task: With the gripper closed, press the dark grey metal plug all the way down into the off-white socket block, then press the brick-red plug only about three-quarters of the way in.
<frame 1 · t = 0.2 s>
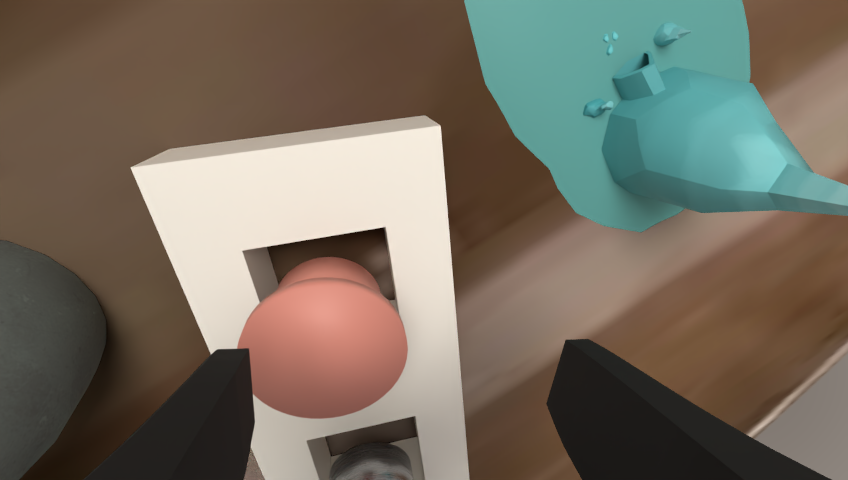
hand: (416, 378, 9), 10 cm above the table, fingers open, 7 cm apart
bottle: (1, 318, 17), on the table
socket block: (351, 347, 20), on the table
red plug: (327, 327, 14), point 5 cm above the table, slide at 0.0 cm
teal witch hat: (613, 60, 17), on the table
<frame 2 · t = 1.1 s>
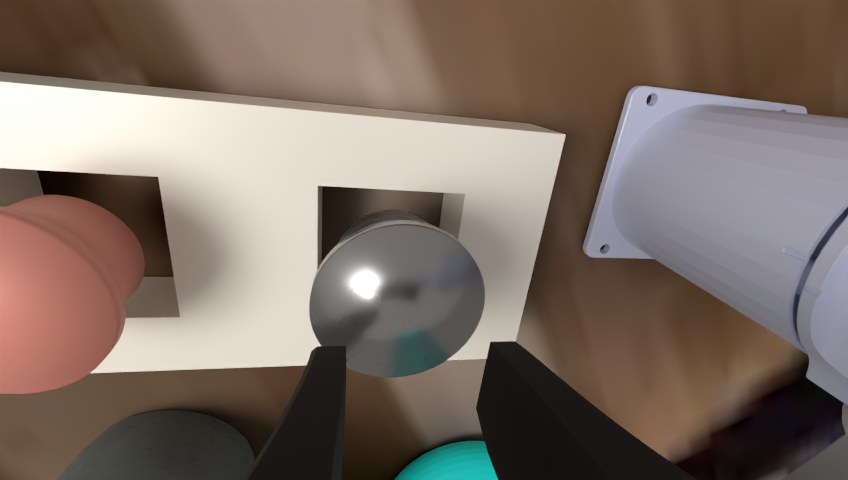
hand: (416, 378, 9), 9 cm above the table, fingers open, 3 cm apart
bottle: (177, 462, 21), on the table
grey plug: (394, 282, 13), point 5 cm above the table, slide at 0.0 cm
socket block: (262, 223, 16), on the table
red plug: (37, 280, 11), point 5 cm above the table, slide at 0.0 cm
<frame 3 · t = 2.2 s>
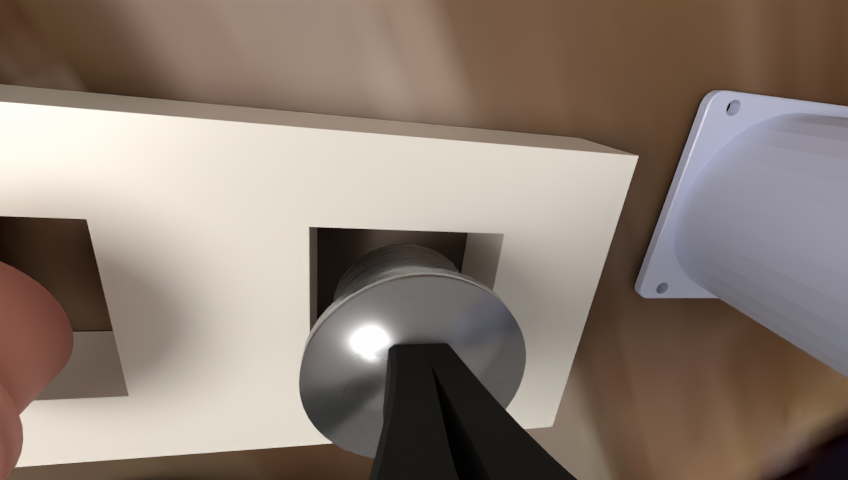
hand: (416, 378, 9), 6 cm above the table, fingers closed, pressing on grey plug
grey plug: (408, 337, 10), point 4 cm above the table, slide at 0.9 cm, touching gripper
socket block: (242, 263, 13), on the table
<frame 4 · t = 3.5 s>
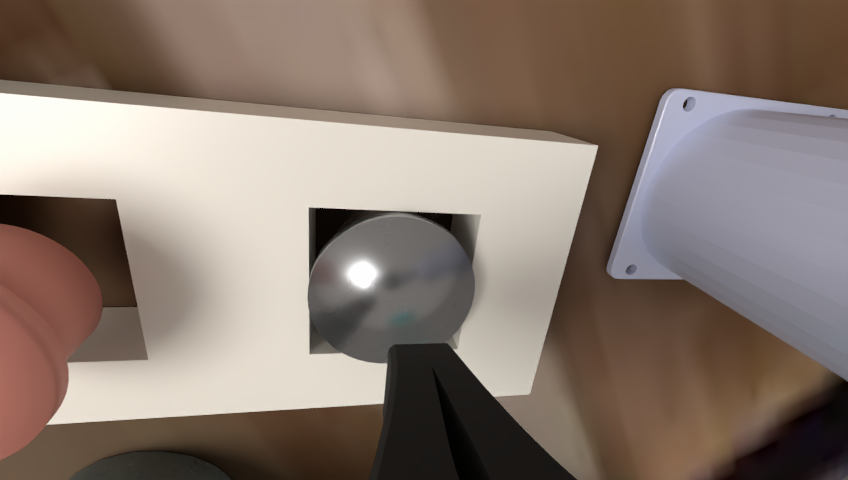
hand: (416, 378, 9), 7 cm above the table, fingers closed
grey plug: (389, 273, 14), point 2 cm above the table, slide at 2.9 cm
socket block: (247, 245, 14), on the table
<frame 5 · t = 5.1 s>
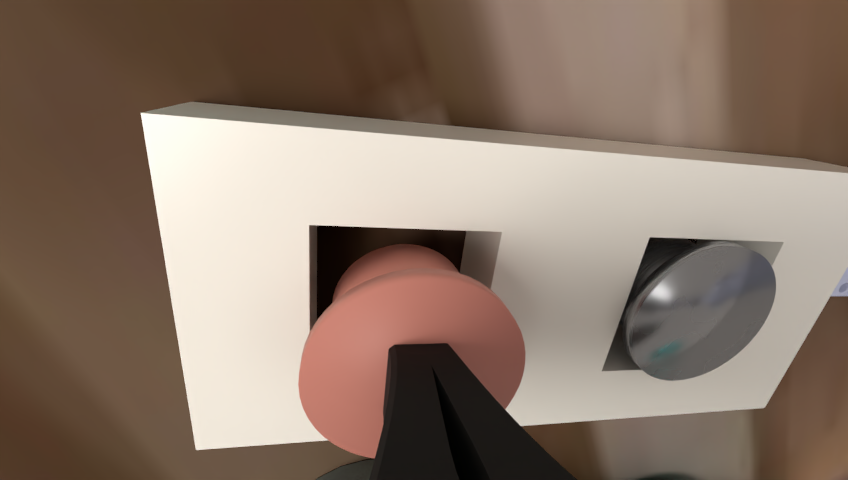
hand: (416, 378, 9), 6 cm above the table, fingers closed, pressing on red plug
grey plug: (669, 294, 14), point 2 cm above the table, slide at 2.9 cm
socket block: (520, 266, 15), on the table
red plug: (407, 337, 10), point 4 cm above the table, slide at 0.7 cm, touching gripper
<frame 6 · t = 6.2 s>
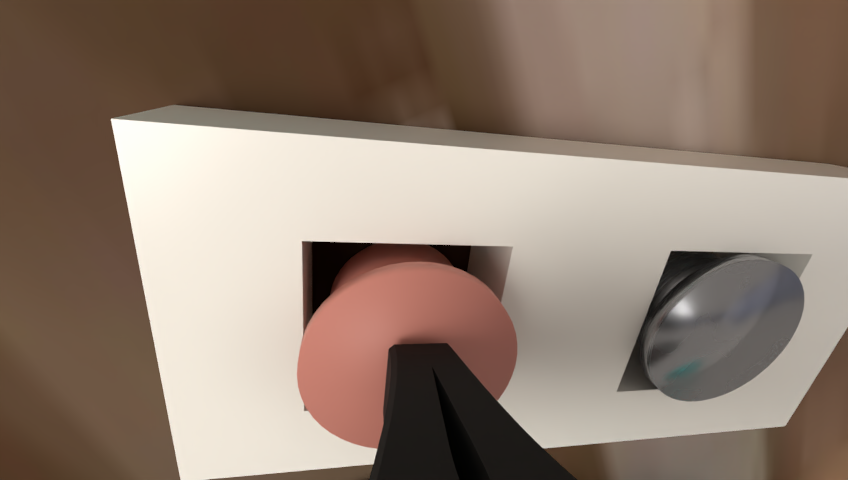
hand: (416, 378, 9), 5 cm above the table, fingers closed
grey plug: (687, 309, 13), point 2 cm above the table, slide at 2.9 cm
socket block: (528, 279, 14), on the table
red plug: (403, 330, 11), point 3 cm above the table, slide at 2.0 cm
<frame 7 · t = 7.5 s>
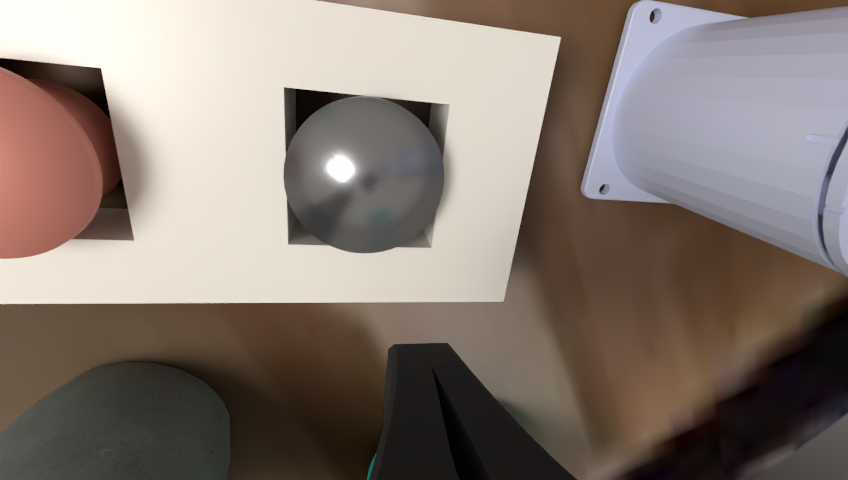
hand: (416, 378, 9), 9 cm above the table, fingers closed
bottle: (147, 422, 20), on the table
grey plug: (365, 170, 14), point 2 cm above the table, slide at 2.9 cm
socket block: (231, 149, 15), on the table
red plug: (18, 154, 11), point 3 cm above the table, slide at 2.0 cm
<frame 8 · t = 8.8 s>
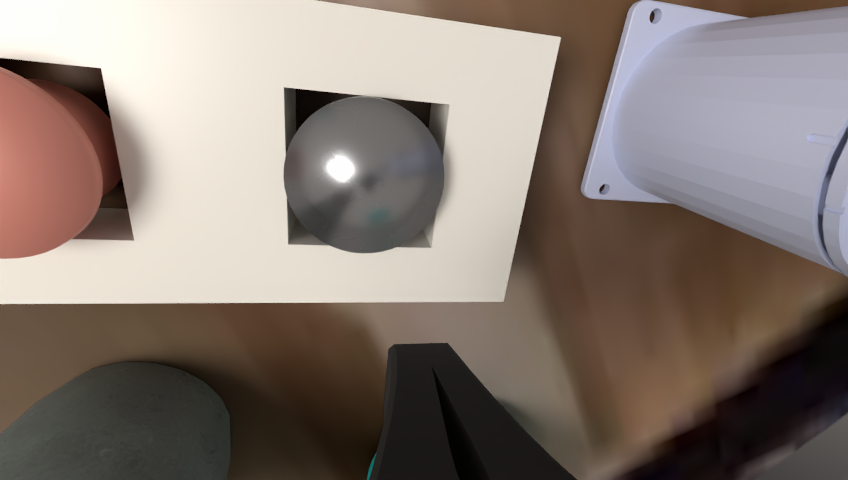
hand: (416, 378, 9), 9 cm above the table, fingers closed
bottle: (147, 422, 20), on the table
grey plug: (365, 170, 14), point 2 cm above the table, slide at 2.9 cm
socket block: (231, 149, 15), on the table
red plug: (18, 154, 11), point 3 cm above the table, slide at 2.0 cm
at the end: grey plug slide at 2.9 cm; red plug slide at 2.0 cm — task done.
